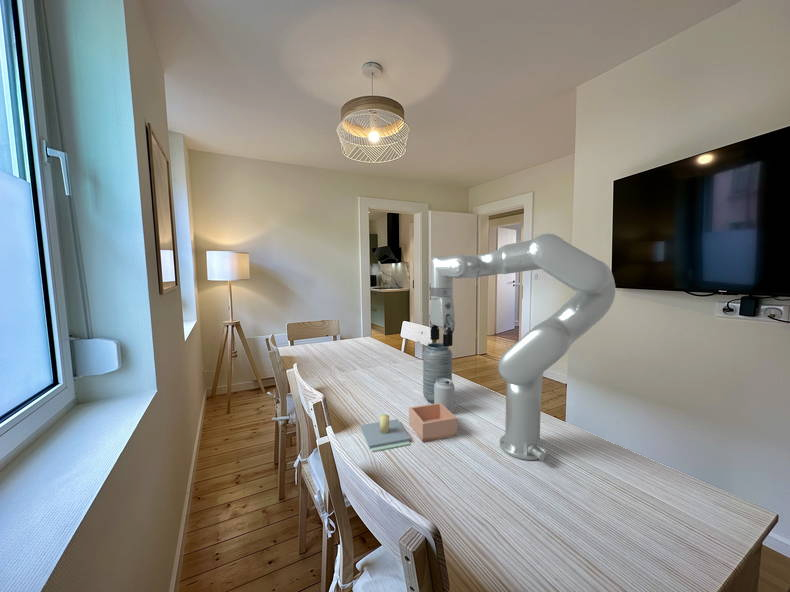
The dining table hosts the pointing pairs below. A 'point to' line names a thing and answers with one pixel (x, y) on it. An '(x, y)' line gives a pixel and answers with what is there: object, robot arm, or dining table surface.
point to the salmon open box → (432, 422)
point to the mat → (390, 446)
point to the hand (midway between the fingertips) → (441, 342)
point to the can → (444, 393)
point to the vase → (435, 367)
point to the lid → (384, 432)
